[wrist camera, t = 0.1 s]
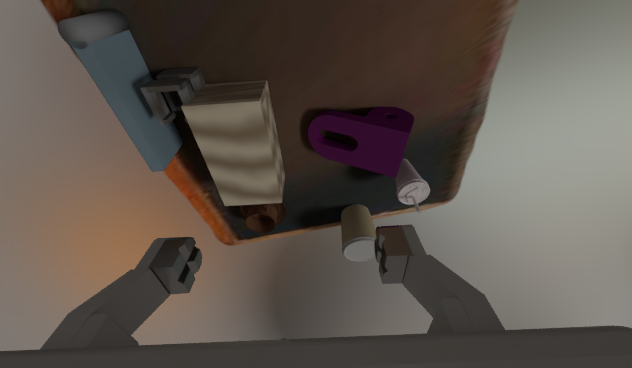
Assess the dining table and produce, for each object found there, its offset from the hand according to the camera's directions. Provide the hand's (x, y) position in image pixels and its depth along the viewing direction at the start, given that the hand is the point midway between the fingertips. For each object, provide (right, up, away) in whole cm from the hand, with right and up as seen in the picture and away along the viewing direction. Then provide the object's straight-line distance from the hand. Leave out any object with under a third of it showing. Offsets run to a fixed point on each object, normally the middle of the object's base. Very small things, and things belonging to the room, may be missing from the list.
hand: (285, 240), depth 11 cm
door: (-29, +20, +34) cm, 48 cm away
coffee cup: (+12, -6, +57) cm, 59 cm away
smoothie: (+21, +7, +46) cm, 51 cm away
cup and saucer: (-12, -3, +55) cm, 56 cm away
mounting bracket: (+9, +14, +40) cm, 44 cm away
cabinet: (-15, +13, +40) cm, 45 cm away
